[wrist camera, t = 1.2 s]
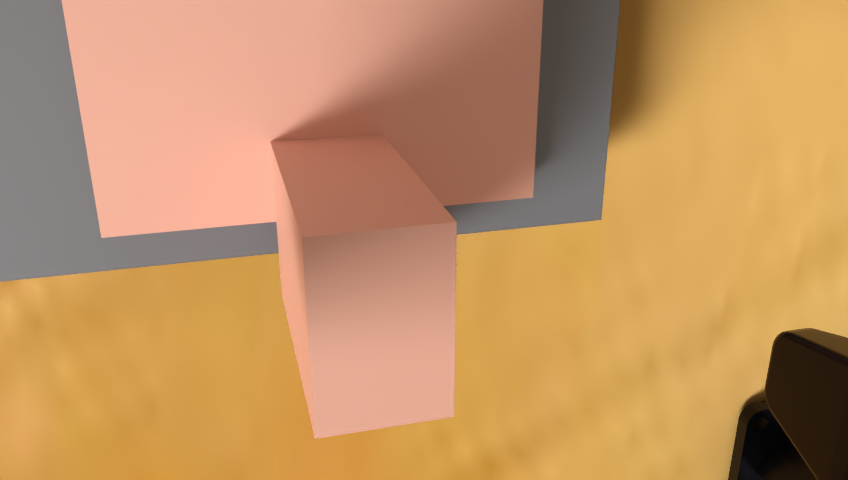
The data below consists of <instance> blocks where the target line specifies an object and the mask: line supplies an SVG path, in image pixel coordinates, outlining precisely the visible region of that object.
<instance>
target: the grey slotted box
mask: <svg viewBox="0 0 848 480" xmlns="http://www.w3.org/2000/svg"><path fill="white" fill-rule="evenodd" d="M619 9H620V0H543V17H542V36H541V55H540V75H539V94H538V113H537V132H536V152H535V171H534V190H533V198H524V199H513V200H502V201H491V202H481V203H470V204H459V205H449V206H444V208H445V209H446V210H447V211H448V212H449V214H450V215H451V216H452V217H453V218H454V219H455V221H456V222H457V235H458V234H468V233H478V232H487V231H497V230H507V229H516V228H526V227H536V226H546V225H555V224H565V223H575V222H585V221H594V220H601V216H602V205H603V193H604V182H605V170H606V159H607V147H608V136H609V124H610V113H611V101H612V90H613V78H614V67H615V55H616V44H617V32H618V21H619ZM273 253H279V250H278V237H277V224H276V222H267V223H256V224H246V225H235V226H224V227H213V228H203V229H192V230H181V231H171V232H160V233H149V234H139V235H128V236H117V237H107V238H101V233H100V227H99V221H98V215H97V209H96V203H95V197H94V191H93V185H92V179H91V173H90V167H89V161H88V155H87V149H86V143H85V138H84V132H83V126H82V120H81V114H80V108H79V102H78V96H77V90H76V84H75V78H74V72H73V66H72V60H71V54H70V48H69V42H68V36H67V30H66V24H65V18H64V12H63V6H62V0H0V282H1V281H10V280H20V279H30V278H39V277H49V276H59V275H69V274H78V273H88V272H98V271H108V270H117V269H127V268H137V267H147V266H156V265H166V264H176V263H185V262H195V261H205V260H215V259H224V258H234V257H244V256H254V255H263V254H273Z"/></svg>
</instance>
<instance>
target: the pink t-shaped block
mask: <svg viewBox="0 0 848 480" xmlns="http://www.w3.org/2000/svg"><path fill="white" fill-rule="evenodd" d="M62 6H63V12H64V18H65V24H66V30H67V36H68V42H69V48H70V54H71V60H72V66H73V72H74V78H75V84H76V90H77V96H78V102H79V108H80V114H81V120H82V126H83V132H84V138H85V143H86V149H87V155H88V161H89V167H90V173H91V179H92V185H93V191H94V197H95V203H96V209H97V215H98V221H99V227H100V233H101V238H107V237H117V236H128V235H139V234H149V233H160V232H171V231H181V230H192V229H203V228H213V227H224V226H235V225H246V224H256V223H267V222H276V224H277V237H278V250H279V262H280V275H281V288H282V298H283V302H284V306H285V311H286V315H287V319H288V324H289V328H290V332H291V337H292V341H293V345H294V350H295V354H296V358H297V363H298V367H299V371H300V376H301V380H302V384H303V389H304V393H305V397H306V402H307V406H308V410H309V415H310V419H311V423H312V428H313V432H314V436H315V439H317V438H323V437H329V436H336V435H342V434H348V433H355V432H361V431H367V430H374V429H380V428H386V427H393V426H399V425H405V424H411V423H418V422H424V421H430V420H437V419H443V418H449V417H454V378H455V307H456V235H457V222H456V221H455V219H454V218H453V217H452V216H451V215H450V214H449V212H448V211H447V210H446V209H445V208H444V206H449V205H459V204H470V203H481V202H491V201H502V200H513V199H524V198H533V190H534V171H535V152H536V132H537V113H538V94H539V75H540V55H541V36H542V17H543V0H62Z"/></svg>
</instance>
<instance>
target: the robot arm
mask: <svg viewBox="0 0 848 480" xmlns="http://www.w3.org/2000/svg"><path fill="white" fill-rule="evenodd" d="M765 398H766V401H761V402H755V403H752V404H750V405H748V406H747V407H746V408H744V410H743V411H742V412H741V414H740V417H739V421H738V426H737V432H736V438H735V444H734V449H733V455H732V461H731V467H730V472H729V478H728V480H848V338H846V337H843V336H839V335H835V334H832V333H828V332H824V331H820V330H817V329H812V328H804V329H797V330H791V331H785V332H782V333H780V334H779V335H778V336H777V337H776V338H775V340H774V342H773V346H772V352H771V357H770V362H769V368H768V373H767V379H766V384H765ZM758 418H759V419H758ZM757 419H758V420H757ZM756 420H757V421H756ZM755 421H756V422H755Z"/></svg>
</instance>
